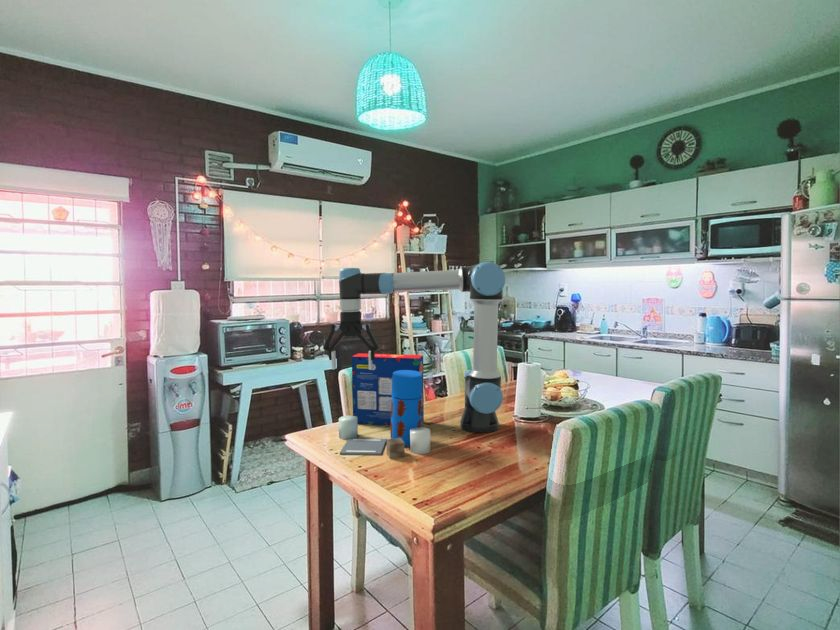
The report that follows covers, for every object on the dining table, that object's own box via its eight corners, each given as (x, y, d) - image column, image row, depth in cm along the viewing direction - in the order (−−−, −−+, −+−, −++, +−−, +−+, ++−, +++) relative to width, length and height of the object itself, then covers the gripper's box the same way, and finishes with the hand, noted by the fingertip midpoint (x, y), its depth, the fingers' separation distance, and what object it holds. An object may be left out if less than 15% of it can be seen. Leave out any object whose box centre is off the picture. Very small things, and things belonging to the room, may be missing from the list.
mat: (386, 440, 167) (386, 438, 167) (380, 455, 153) (380, 453, 153) (348, 439, 168) (348, 438, 168) (339, 454, 154) (339, 452, 154)
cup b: (359, 433, 175) (359, 415, 174) (355, 439, 168) (355, 421, 168) (341, 433, 175) (341, 415, 175) (337, 439, 168) (336, 421, 168)
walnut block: (401, 452, 156) (400, 437, 155) (404, 457, 151) (404, 442, 150) (386, 453, 154) (386, 439, 154) (389, 459, 149) (389, 444, 149)
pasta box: (423, 421, 189) (423, 355, 187) (419, 427, 181) (418, 358, 179) (359, 418, 195) (358, 353, 193) (353, 423, 187) (351, 356, 185)
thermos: (413, 448, 159) (416, 378, 156) (385, 443, 162) (387, 375, 159) (423, 437, 169) (426, 371, 166) (396, 432, 172) (398, 368, 169)
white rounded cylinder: (430, 446, 160) (430, 427, 160) (430, 454, 153) (429, 434, 153) (411, 446, 161) (410, 427, 160) (409, 454, 154) (409, 433, 153)
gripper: (386, 309, 167) (387, 366, 169) (320, 310, 169) (321, 366, 171) (382, 311, 160) (384, 370, 161) (313, 311, 162) (315, 370, 163)
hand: (352, 368), depth 166 cm, fingers open, 13 cm apart
